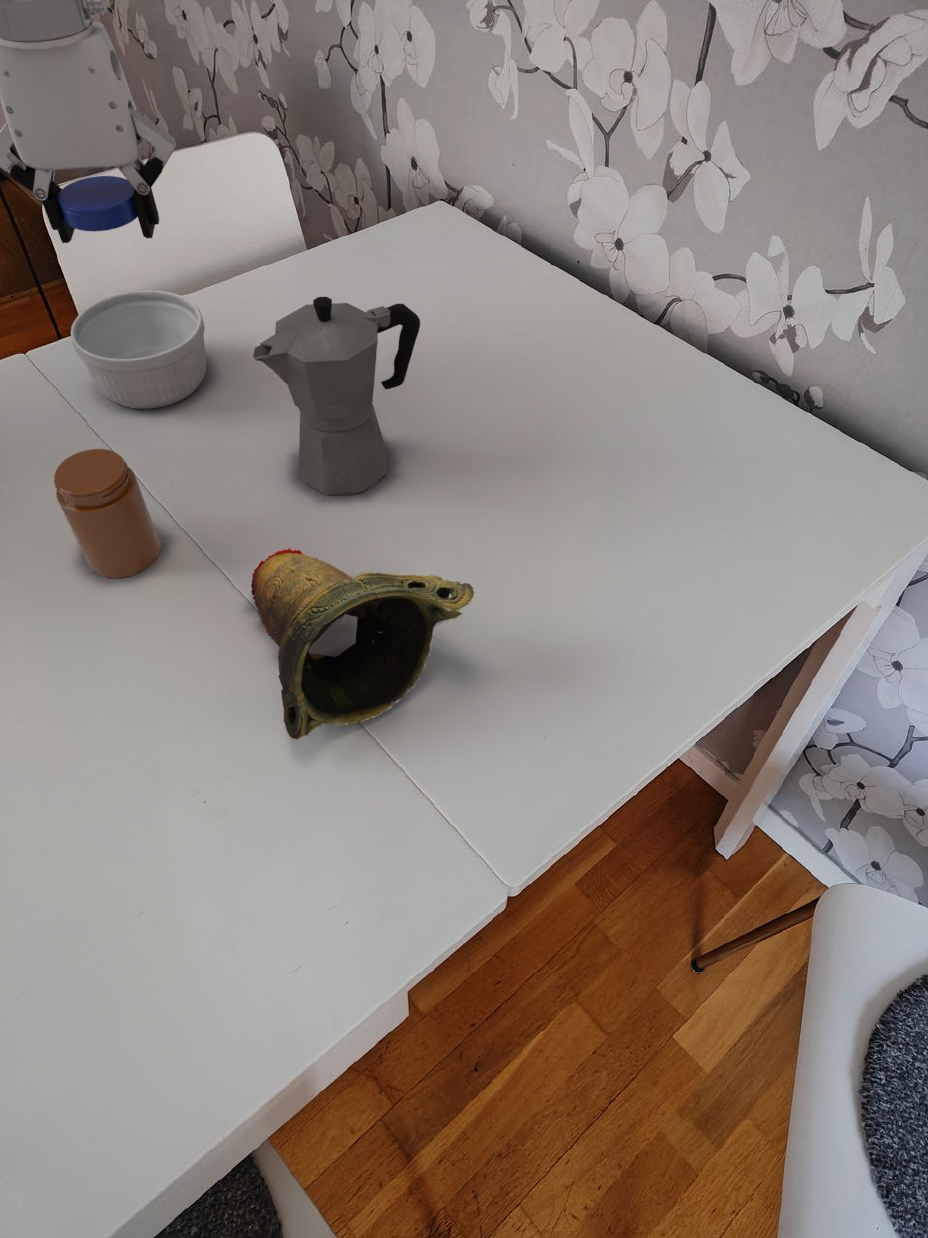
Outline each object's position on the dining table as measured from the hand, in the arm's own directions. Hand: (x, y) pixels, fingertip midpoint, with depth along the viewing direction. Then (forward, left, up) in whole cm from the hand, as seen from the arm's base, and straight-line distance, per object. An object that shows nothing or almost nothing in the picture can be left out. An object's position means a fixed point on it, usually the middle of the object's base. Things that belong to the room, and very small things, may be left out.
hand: (109, 232), depth 82 cm
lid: (0, 0, +3) cm, 3 cm away
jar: (0, -26, -17) cm, 31 cm away
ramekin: (0, 0, -17) cm, 17 cm away
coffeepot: (+21, -16, -17) cm, 31 cm away
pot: (+20, -41, -17) cm, 49 cm away
